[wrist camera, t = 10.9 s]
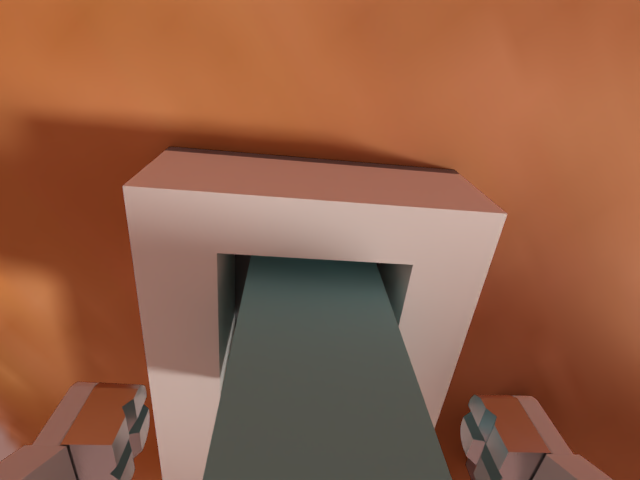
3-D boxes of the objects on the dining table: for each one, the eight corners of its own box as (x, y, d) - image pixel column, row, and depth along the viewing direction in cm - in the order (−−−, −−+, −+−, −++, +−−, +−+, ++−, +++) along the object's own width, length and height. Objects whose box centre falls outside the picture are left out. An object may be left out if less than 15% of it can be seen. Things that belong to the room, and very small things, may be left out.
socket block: (454, 169, 14) (507, 213, 11) (375, 477, 22) (389, 561, 19) (169, 146, 13) (122, 185, 10) (194, 476, 21) (173, 563, 18)
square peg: (365, 233, 15) (473, 538, 6) (351, 319, 16) (416, 653, 7) (257, 226, 14) (189, 539, 5) (255, 315, 16) (201, 660, 7)
